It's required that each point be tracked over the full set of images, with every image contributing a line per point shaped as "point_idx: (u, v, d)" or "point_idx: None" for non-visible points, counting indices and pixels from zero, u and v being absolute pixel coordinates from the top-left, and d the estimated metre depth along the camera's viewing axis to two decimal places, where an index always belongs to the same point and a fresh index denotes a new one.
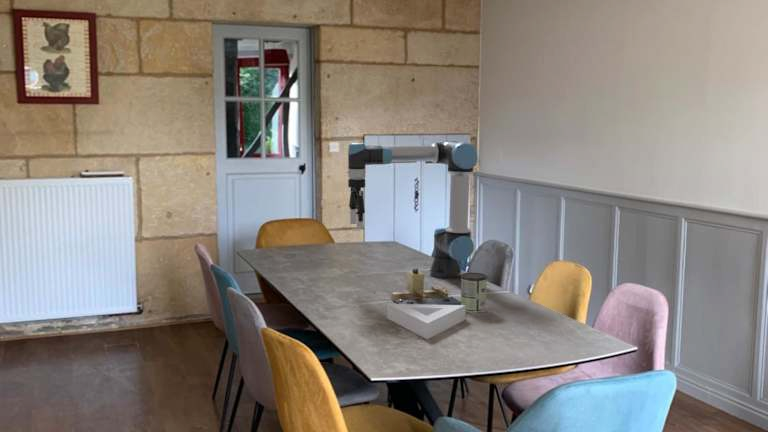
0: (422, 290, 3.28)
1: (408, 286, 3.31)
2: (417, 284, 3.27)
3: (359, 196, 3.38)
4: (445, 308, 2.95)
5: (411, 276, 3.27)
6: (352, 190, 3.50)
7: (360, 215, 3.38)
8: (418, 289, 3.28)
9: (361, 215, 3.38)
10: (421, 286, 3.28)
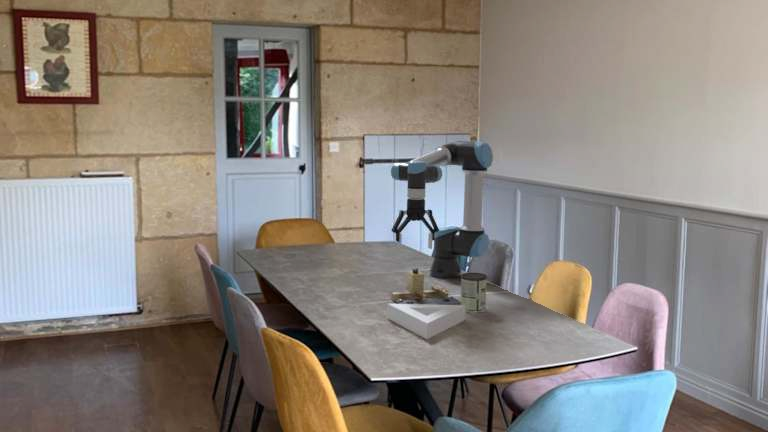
0: (422, 290, 3.28)
1: (408, 286, 3.31)
2: (417, 284, 3.27)
3: (399, 215, 3.25)
4: (445, 308, 2.95)
5: (411, 276, 3.27)
6: None
7: (396, 235, 3.26)
8: (418, 289, 3.28)
9: (396, 235, 3.25)
10: (421, 286, 3.28)
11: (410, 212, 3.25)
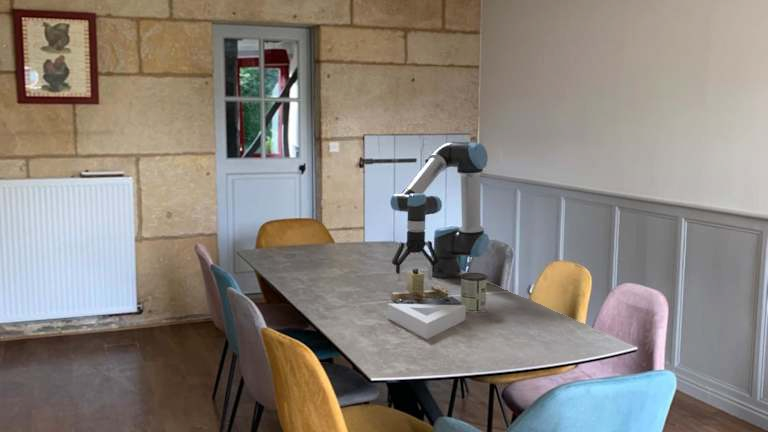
0: (422, 290, 3.28)
1: (408, 286, 3.31)
2: (417, 284, 3.27)
3: (399, 247, 3.26)
4: (445, 308, 2.95)
5: (411, 276, 3.27)
6: None
7: (396, 267, 3.27)
8: (418, 289, 3.28)
9: (396, 267, 3.27)
10: (421, 286, 3.28)
11: (410, 244, 3.26)
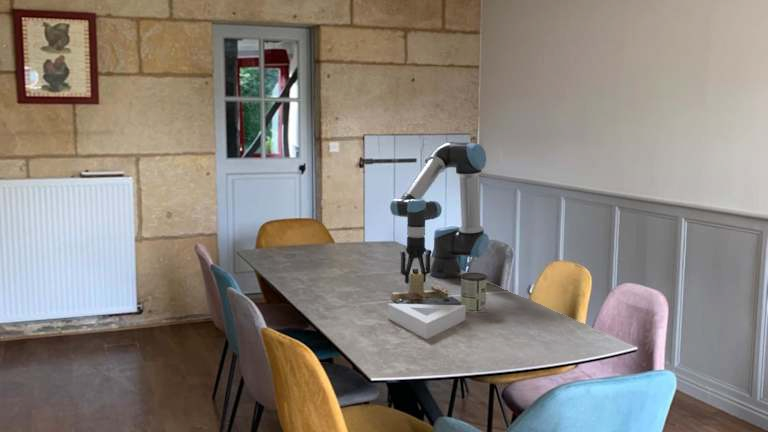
0: (422, 290, 3.28)
1: None
2: (417, 284, 3.27)
3: (401, 257, 3.27)
4: (445, 308, 2.95)
5: (411, 276, 3.27)
6: None
7: (405, 277, 3.29)
8: (418, 289, 3.28)
9: (405, 277, 3.29)
10: (421, 286, 3.28)
11: (410, 249, 3.27)
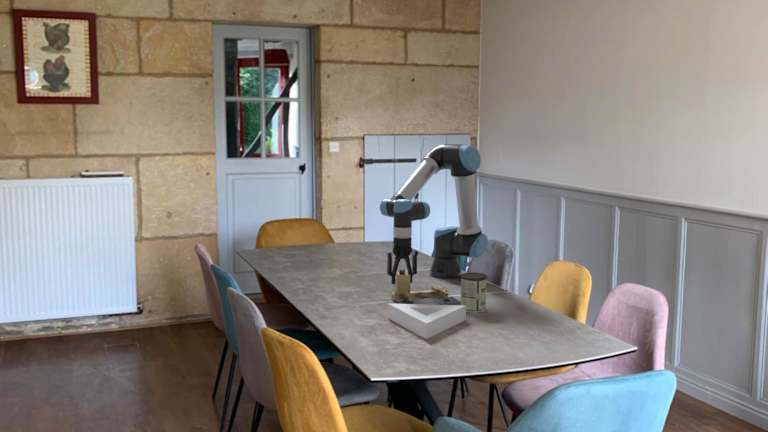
0: (409, 291, 3.26)
1: None
2: (404, 285, 3.25)
3: (388, 257, 3.26)
4: (445, 308, 2.95)
5: (398, 277, 3.25)
6: None
7: None
8: (405, 290, 3.26)
9: (392, 278, 3.27)
10: (408, 287, 3.26)
11: (396, 250, 3.25)
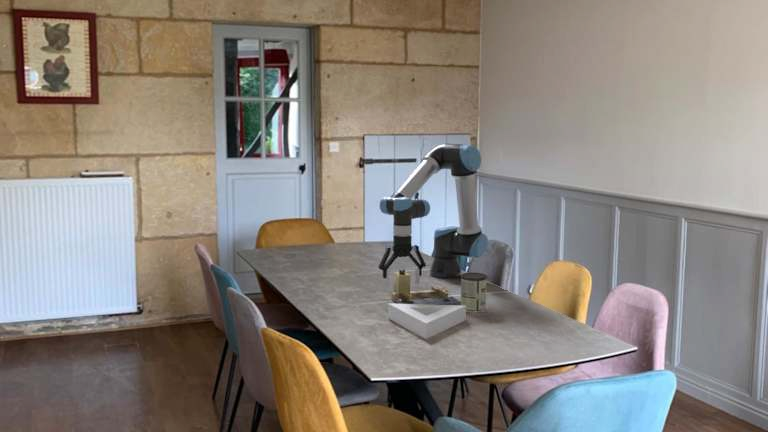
0: (409, 291, 3.26)
1: (395, 287, 3.30)
2: (403, 285, 3.25)
3: (385, 252, 3.25)
4: (445, 308, 2.95)
5: (398, 277, 3.25)
6: None
7: (383, 271, 3.26)
8: (404, 290, 3.26)
9: (383, 272, 3.25)
10: (408, 287, 3.26)
11: (397, 249, 3.25)
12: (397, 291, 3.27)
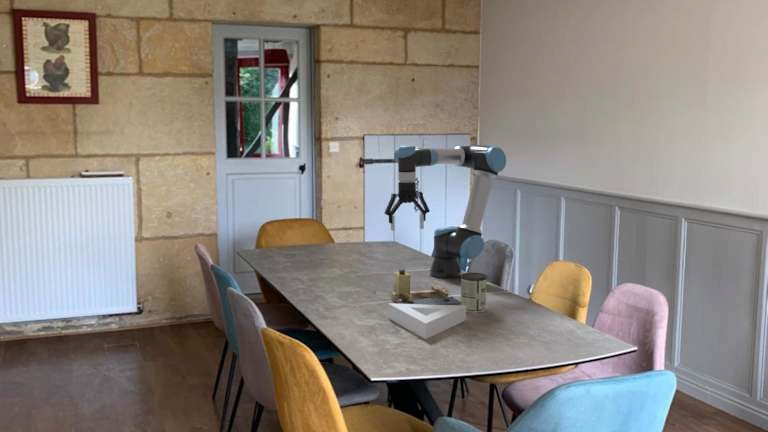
0: (409, 291, 3.26)
1: (395, 287, 3.30)
2: (403, 285, 3.25)
3: (391, 198, 3.39)
4: (445, 308, 2.94)
5: (398, 277, 3.25)
6: None
7: (389, 217, 3.39)
8: (404, 290, 3.26)
9: (389, 217, 3.39)
10: (408, 287, 3.26)
11: (402, 195, 3.38)
12: (397, 291, 3.27)
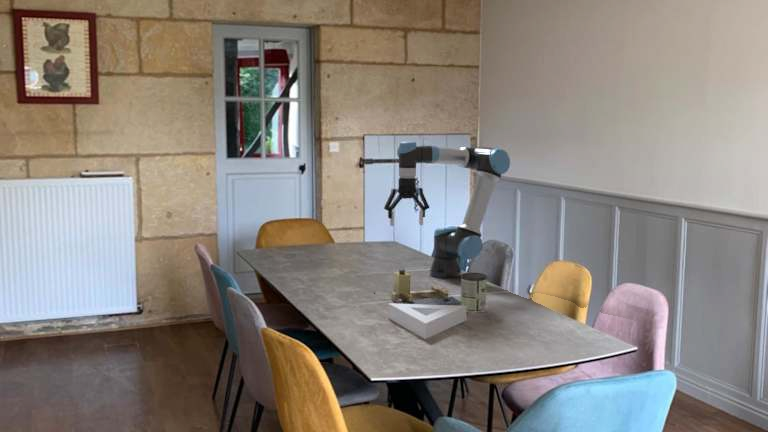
0: (409, 291, 3.26)
1: (395, 287, 3.30)
2: (403, 285, 3.25)
3: (391, 193, 3.41)
4: (445, 308, 2.94)
5: (398, 277, 3.25)
6: None
7: (388, 212, 3.42)
8: (404, 290, 3.26)
9: (388, 212, 3.41)
10: (408, 287, 3.26)
11: (402, 190, 3.41)
12: (397, 291, 3.27)
